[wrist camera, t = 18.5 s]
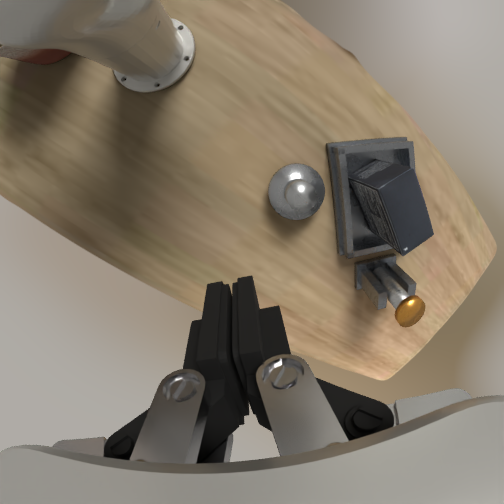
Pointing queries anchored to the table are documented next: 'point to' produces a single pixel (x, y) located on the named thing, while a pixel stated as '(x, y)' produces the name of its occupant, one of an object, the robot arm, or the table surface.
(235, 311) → the robot arm
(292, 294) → the table surface
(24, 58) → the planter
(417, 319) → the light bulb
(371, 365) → the table surface
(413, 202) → the small box
